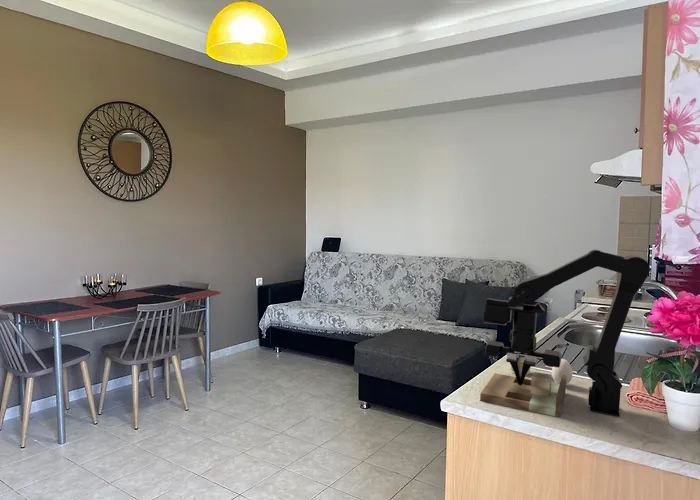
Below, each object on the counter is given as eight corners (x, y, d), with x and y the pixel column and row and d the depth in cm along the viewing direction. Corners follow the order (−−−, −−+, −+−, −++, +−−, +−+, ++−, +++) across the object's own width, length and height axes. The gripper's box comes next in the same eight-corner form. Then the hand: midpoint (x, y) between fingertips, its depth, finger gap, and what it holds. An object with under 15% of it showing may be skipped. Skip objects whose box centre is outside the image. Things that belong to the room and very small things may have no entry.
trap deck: (565, 392, 130) (566, 375, 130) (559, 417, 114) (560, 397, 114) (494, 379, 139) (495, 363, 139) (480, 400, 123) (480, 381, 123)
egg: (572, 384, 137) (573, 358, 136) (570, 390, 132) (572, 363, 132) (552, 380, 140) (553, 355, 139) (550, 386, 135) (551, 359, 134)
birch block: (550, 391, 126) (551, 374, 125) (548, 396, 122) (550, 379, 121) (532, 387, 128) (533, 371, 127) (530, 393, 124) (531, 376, 123)
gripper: (565, 326, 128) (560, 382, 129) (494, 317, 137) (491, 369, 138) (561, 335, 118) (557, 396, 120) (485, 324, 127) (482, 381, 129)
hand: (520, 384), depth 127 cm, fingers closed
